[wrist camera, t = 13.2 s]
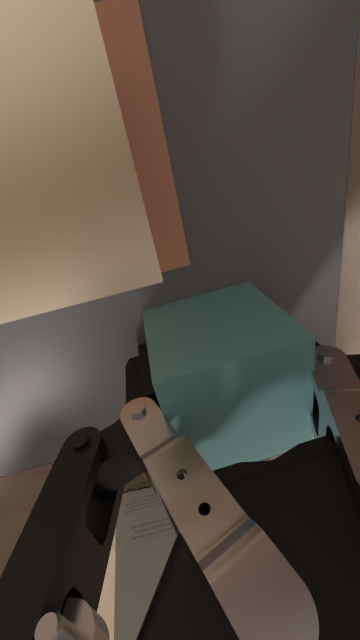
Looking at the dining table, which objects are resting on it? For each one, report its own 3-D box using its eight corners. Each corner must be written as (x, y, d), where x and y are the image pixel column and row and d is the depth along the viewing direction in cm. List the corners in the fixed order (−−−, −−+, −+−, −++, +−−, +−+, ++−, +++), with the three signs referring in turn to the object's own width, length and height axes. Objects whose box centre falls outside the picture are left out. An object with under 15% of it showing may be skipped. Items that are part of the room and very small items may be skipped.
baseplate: (0, 462, 16) (-8, 481, 15) (-342, 60, 8) (-412, 43, 7) (321, 368, 17) (333, 379, 16) (343, -75, 9) (372, -108, 8)
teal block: (167, 392, 15) (186, 483, 10) (142, 310, 12) (152, 384, 8) (257, 366, 15) (311, 444, 11) (249, 281, 13) (315, 337, 8)
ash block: (-63, 110, 8) (-276, 37, 4) (105, 75, 8) (85, -33, 4) (18, 271, 11) (-55, 338, 6) (147, 239, 11) (163, 282, 7)
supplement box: (114, 492, 19) (102, 912, 8) (217, 469, 20) (329, 820, 9) (130, 545, 23) (136, 892, 12) (217, 524, 24) (299, 828, 13)
